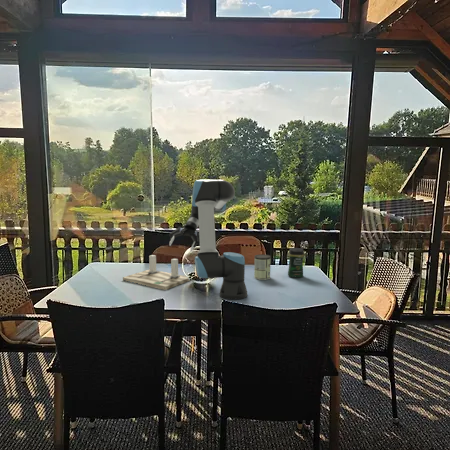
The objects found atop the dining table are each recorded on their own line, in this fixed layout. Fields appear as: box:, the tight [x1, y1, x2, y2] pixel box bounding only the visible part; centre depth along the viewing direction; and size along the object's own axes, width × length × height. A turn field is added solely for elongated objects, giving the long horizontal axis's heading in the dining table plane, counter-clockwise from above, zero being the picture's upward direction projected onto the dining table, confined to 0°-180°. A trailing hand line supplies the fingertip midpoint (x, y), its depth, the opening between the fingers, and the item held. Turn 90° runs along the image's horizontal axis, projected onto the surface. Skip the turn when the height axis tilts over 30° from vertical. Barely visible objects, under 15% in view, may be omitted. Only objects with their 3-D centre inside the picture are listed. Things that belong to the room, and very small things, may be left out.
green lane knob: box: [170, 258, 181, 278], centre depth 245 cm, size 5×4×11 cm
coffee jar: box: [287, 247, 305, 279], centre depth 257 cm, size 10×8×19 cm
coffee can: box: [253, 253, 272, 281], centre depth 253 cm, size 10×10×14 cm
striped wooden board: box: [122, 269, 190, 291], centre depth 246 cm, size 24×34×2 cm
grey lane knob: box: [148, 254, 159, 274], centre depth 254 cm, size 5×4×11 cm
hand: (180, 247), depth 243 cm, fingers open, 13 cm apart
